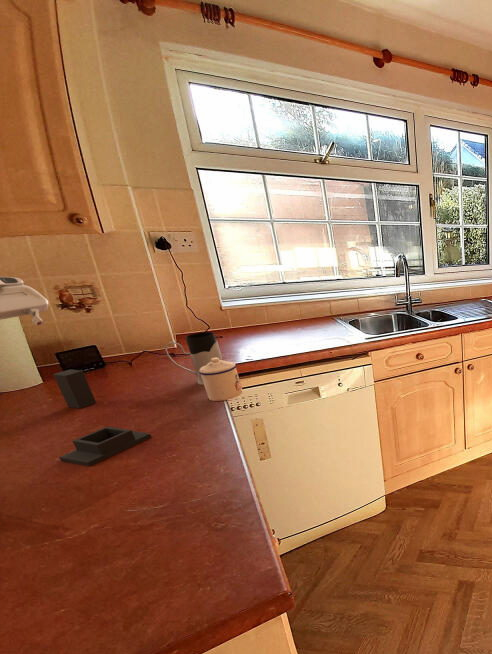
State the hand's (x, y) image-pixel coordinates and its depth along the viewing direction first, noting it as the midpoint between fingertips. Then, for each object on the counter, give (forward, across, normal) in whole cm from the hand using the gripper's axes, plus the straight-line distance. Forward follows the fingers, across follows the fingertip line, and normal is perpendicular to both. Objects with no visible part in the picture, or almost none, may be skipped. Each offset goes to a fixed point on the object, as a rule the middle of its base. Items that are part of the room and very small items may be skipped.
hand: (18, 327), depth 116 cm
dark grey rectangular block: (+24, 0, +7) cm, 25 cm away
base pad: (+49, -16, -18) cm, 55 cm away
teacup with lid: (+49, +16, -17) cm, 54 cm away
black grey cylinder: (+37, +23, -6) cm, 44 cm away
